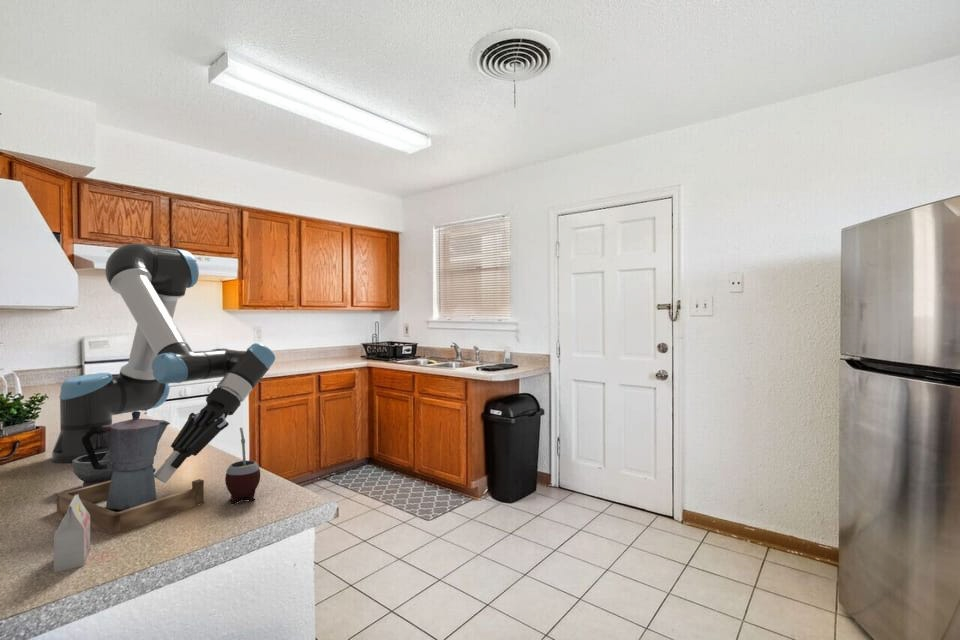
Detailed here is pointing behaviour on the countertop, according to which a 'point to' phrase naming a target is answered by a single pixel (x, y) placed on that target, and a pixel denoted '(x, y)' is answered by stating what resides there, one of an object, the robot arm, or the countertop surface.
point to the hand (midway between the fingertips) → (159, 479)
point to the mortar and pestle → (87, 472)
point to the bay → (131, 516)
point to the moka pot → (129, 459)
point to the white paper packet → (72, 537)
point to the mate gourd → (242, 477)
